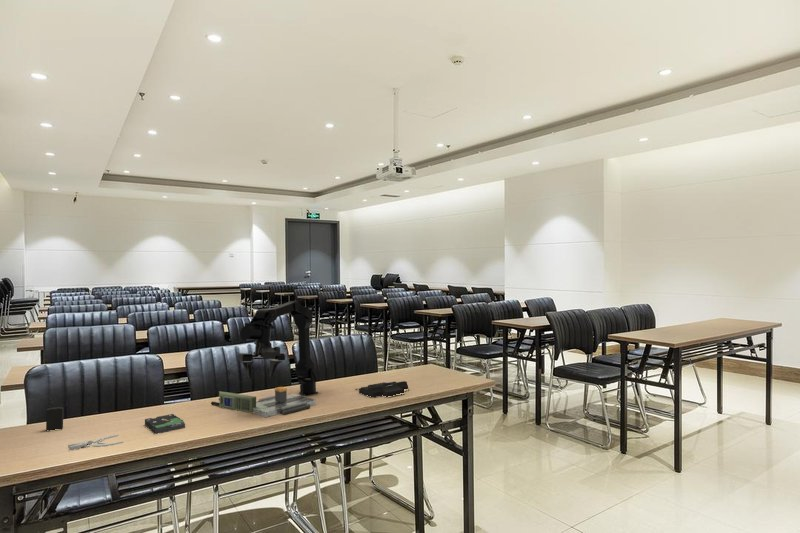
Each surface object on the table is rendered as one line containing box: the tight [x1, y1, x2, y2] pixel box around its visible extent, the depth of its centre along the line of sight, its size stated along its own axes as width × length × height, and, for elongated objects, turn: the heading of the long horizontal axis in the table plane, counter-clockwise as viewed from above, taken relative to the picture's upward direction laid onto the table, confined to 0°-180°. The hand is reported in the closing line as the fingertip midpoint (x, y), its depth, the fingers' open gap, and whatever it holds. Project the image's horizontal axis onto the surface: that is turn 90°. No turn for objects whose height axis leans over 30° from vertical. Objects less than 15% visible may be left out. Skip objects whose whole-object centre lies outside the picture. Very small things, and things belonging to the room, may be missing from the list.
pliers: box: [67, 434, 124, 451], centre depth 164 cm, size 10×2×15 cm
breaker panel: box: [252, 393, 317, 418], centre depth 205 cm, size 24×16×2 cm, turn 136°
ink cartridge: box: [45, 406, 64, 432], centre depth 180 cm, size 5×2×8 cm, turn 119°
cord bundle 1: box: [279, 401, 311, 416], centre depth 199 cm, size 13×4×3 cm, turn 136°
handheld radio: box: [210, 391, 257, 414], centre depth 204 cm, size 7×3×25 cm
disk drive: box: [144, 413, 186, 435], centre depth 182 cm, size 10×3×15 cm
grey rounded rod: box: [256, 395, 275, 402], centre depth 212 cm, size 13×4×3 cm, turn 136°
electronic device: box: [355, 380, 409, 398], centre depth 232 cm, size 21×30×5 cm
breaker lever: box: [274, 386, 288, 403], centre depth 205 cm, size 3×4×6 cm
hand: (260, 378), depth 199 cm, fingers open, 9 cm apart
